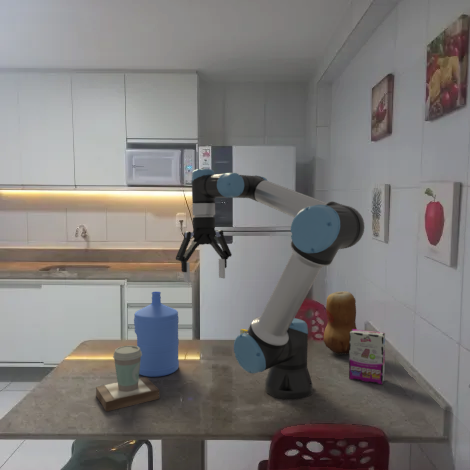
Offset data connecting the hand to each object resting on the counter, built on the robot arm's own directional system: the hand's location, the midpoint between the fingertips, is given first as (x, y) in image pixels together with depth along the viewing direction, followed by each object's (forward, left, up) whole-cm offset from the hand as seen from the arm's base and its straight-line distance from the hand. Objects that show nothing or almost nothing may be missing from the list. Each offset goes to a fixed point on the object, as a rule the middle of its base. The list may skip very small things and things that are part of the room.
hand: (204, 279), depth 144 cm
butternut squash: (-5, -58, -34) cm, 68 cm away
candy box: (+14, -31, -34) cm, 48 cm away
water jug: (+17, +11, -34) cm, 40 cm away
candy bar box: (-28, -47, -34) cm, 65 cm away
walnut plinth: (0, +27, -34) cm, 43 cm away
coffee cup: (0, +27, -31) cm, 41 cm away
